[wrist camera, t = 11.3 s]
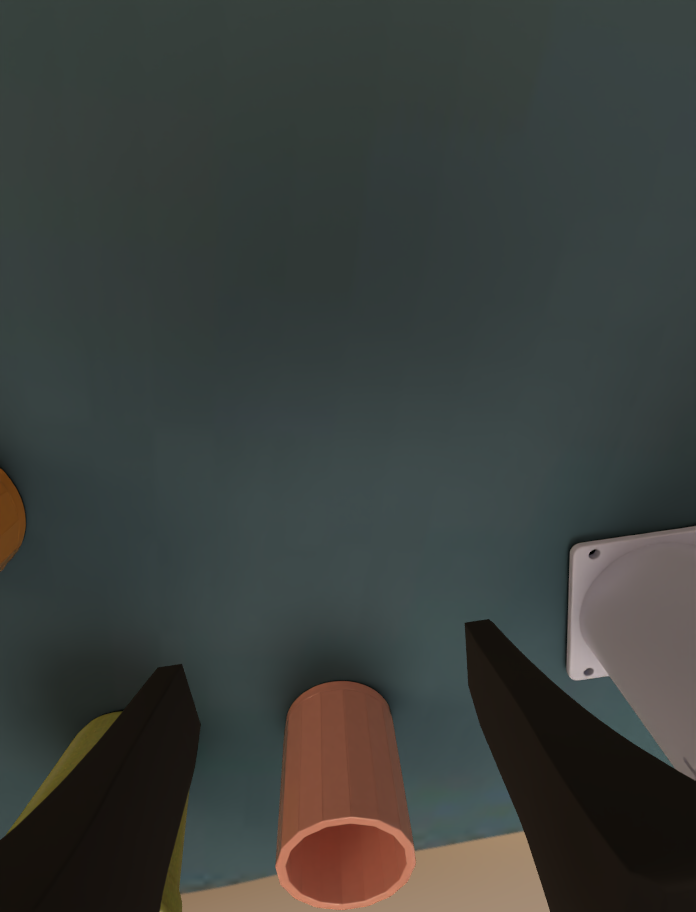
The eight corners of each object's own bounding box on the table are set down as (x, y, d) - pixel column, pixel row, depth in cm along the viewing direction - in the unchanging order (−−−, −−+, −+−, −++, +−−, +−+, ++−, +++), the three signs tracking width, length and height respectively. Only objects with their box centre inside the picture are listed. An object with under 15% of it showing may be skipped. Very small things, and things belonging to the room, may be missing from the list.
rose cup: (385, 672, 26) (409, 808, 20) (396, 752, 28) (420, 898, 22) (277, 689, 26) (264, 829, 20) (295, 767, 28) (289, 918, 22)
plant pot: (70, 824, 29) (-26, 1043, 21) (14, 694, 26) (-127, 896, 17) (237, 802, 29) (207, 1011, 21) (204, 671, 26) (153, 860, 18)
